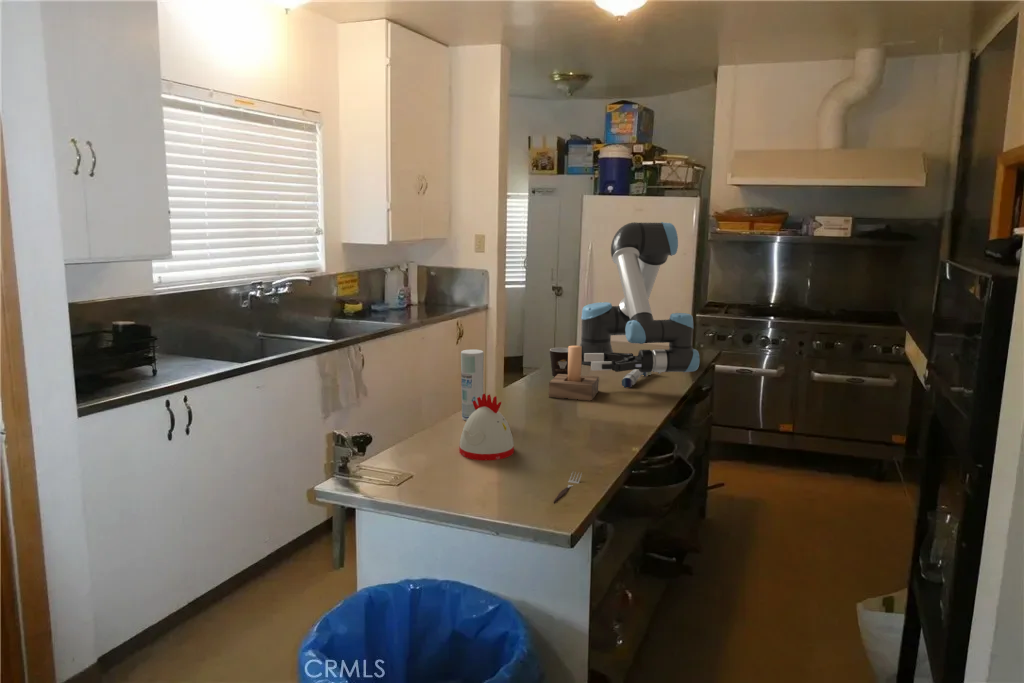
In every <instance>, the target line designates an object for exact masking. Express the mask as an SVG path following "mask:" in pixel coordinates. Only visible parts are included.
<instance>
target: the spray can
mask: <svg viewBox="0 0 1024 683" xmlns="http://www.w3.org/2000/svg"><path fill="white" fill-rule="evenodd" d="M484 356H485V355H484V351H483V350H481V349H465V350H461V351H460V369H461V370H460V372H461V376H460V377H461V381H460V382H461V384H460V385H461V386H460V387H461V419H462V421H465V422H466V421H467V420H468V418H469V417H470V415H471V414H472V413H473V412H474V411H475V408H474V405H473V401H476V403H477V405H478V400H477V398H478V397H480V398H481V400H482V395H483V394H484Z"/></svg>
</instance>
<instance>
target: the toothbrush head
mask: <svg viewBox="0 0 1024 683" xmlns="http://www.w3.org/2000/svg"><path fill="white" fill-rule="evenodd" d="M652 373H653V371H651V372H640V371H639V369H634V370H630V372H629V373H627V374H625V375H624V376H623V378H622V379H621V386H622V387H623V386H624V387H623V388H626V387H630V388H632V387H633V386H635V385H636V384H637V381H638V380H639V378H640V377H642V376H641V375H644V376H643V377H648V376H647V375H651V374H652ZM651 376H652V375H651ZM632 385H633V386H632Z"/></svg>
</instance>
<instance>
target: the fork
mask: <svg viewBox="0 0 1024 683" xmlns="http://www.w3.org/2000/svg"><path fill="white" fill-rule="evenodd" d="M573 474H574V476H573ZM576 474H577V475H576ZM582 474H583V472H581V473H580V472H578V473H577V472H574V471H572V472H571V475H570V477H569V479H568V481H567V482H568V483H570V484H567V487H565V488H564V489H562V490H561V491H560V492H559V493H558V494H557V496H556V498H555V499H554V500H553V503H556V502H558V501H559V500H560V499H561V498H562V497H564V496H565V495H566V494H567V492H568V490H569V489H570V488H571V487H573V484H580V482H581V478H582ZM579 475H580V476H579ZM575 477H576V478H575ZM572 483H573V484H572ZM571 484H572V485H571Z"/></svg>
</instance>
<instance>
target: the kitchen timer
mask: <svg viewBox="0 0 1024 683" xmlns="http://www.w3.org/2000/svg"><path fill="white" fill-rule="evenodd" d="M477 400H478V405H477V403H476V401H473V405H474V408H475V411H474V412H473V413H472V414H471V415H470V417H469V418H468V420H467V421H465V423H464V425H463V430H462V432H461V435H460V440H459V446H458V447H459V449H458V450H459V451H458V452H459V454H460V455H461V456H462V457H464V458H467V459H470V460H477V461H496V460H503V459H506V458H508V457H510V456H512V455H514V452H515V450H514V449H515V446H514V438H513V434H512V431H511V428H510V424H509V422H508V421H507V420H506V418H505V417H504V415H503V414H502V412H500V411H499V410H500V407H501V404H502V401H500V402H498V401H497V395H495V396H494V397H493V399H492V397H491V394H487V396H486V393H483V395H482V400H481V398H480V397H478V398H477Z"/></svg>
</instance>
